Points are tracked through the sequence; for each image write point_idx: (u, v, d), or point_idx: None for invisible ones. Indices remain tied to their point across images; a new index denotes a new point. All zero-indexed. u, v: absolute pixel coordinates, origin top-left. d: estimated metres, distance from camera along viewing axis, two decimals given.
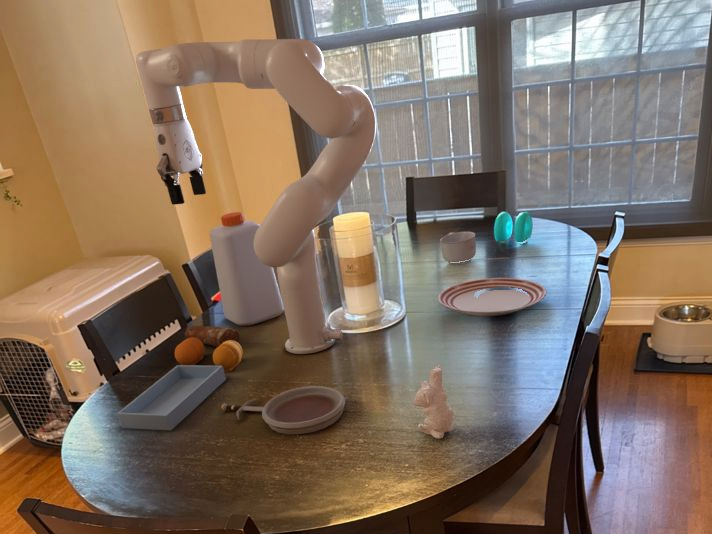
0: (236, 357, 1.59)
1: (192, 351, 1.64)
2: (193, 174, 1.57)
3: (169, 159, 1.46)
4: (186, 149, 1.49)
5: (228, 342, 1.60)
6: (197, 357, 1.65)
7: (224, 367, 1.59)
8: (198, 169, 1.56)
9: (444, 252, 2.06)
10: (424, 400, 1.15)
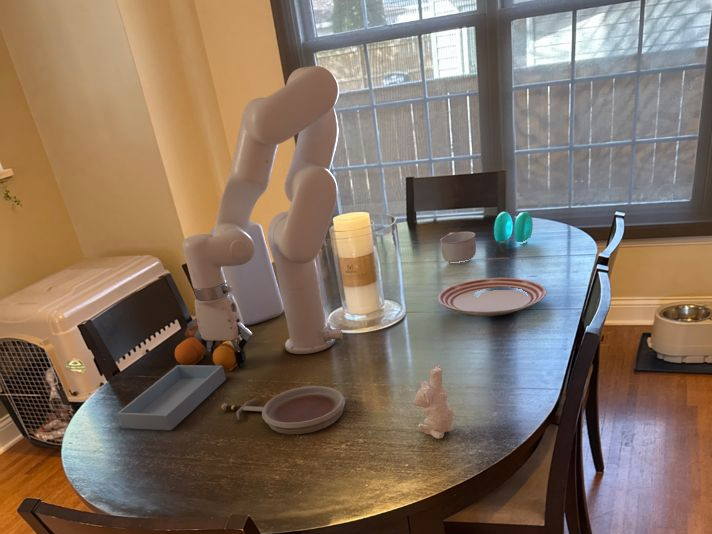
0: None
1: (192, 351, 1.64)
2: (213, 346, 1.61)
3: None
4: None
5: (228, 342, 1.60)
6: (197, 357, 1.65)
7: (224, 367, 1.59)
8: None
9: (444, 252, 2.06)
10: (424, 400, 1.15)
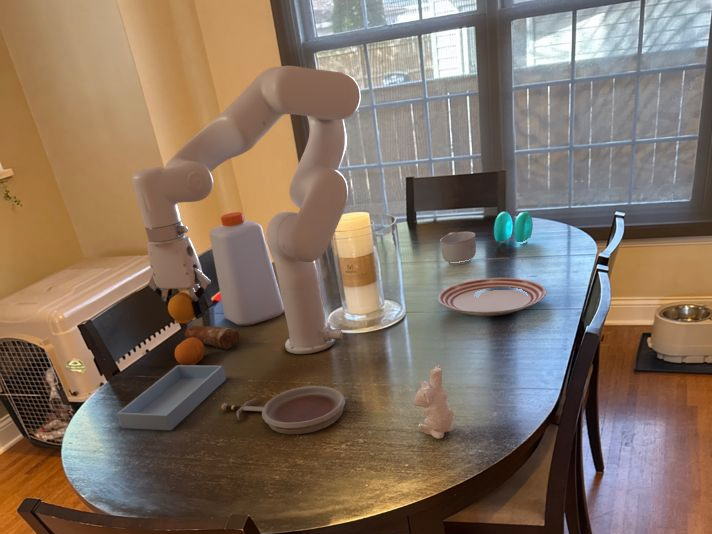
0: None
1: (192, 351, 1.64)
2: (169, 296, 1.47)
3: None
4: None
5: (185, 291, 1.46)
6: (197, 357, 1.65)
7: (180, 318, 1.45)
8: None
9: (444, 252, 2.06)
10: (424, 400, 1.15)
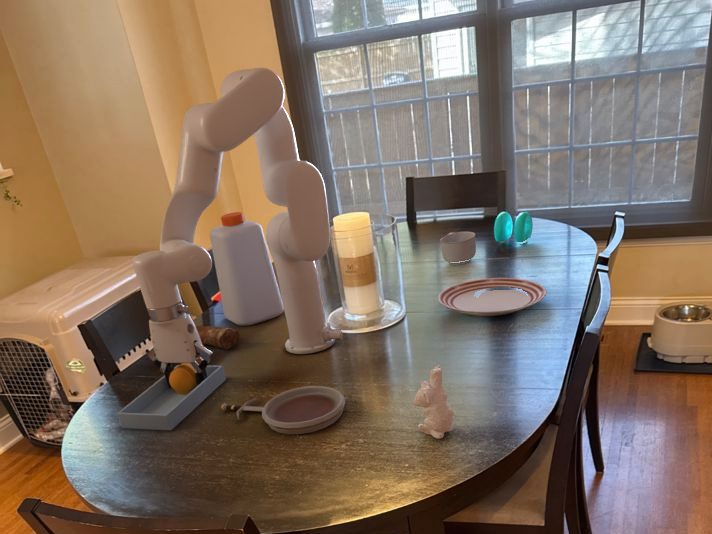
0: (194, 380, 1.50)
1: None
2: (168, 368, 1.52)
3: None
4: None
5: (186, 364, 1.51)
6: None
7: (181, 390, 1.49)
8: None
9: (444, 252, 2.06)
10: (424, 400, 1.15)
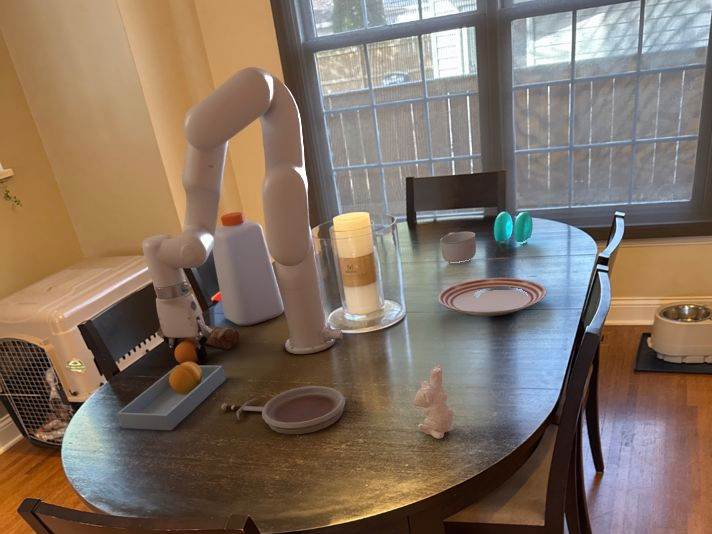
0: (194, 380, 1.50)
1: (192, 351, 1.64)
2: (175, 343, 1.66)
3: None
4: None
5: (186, 364, 1.51)
6: (197, 357, 1.65)
7: (181, 390, 1.49)
8: (177, 337, 1.67)
9: (444, 252, 2.06)
10: (424, 400, 1.15)
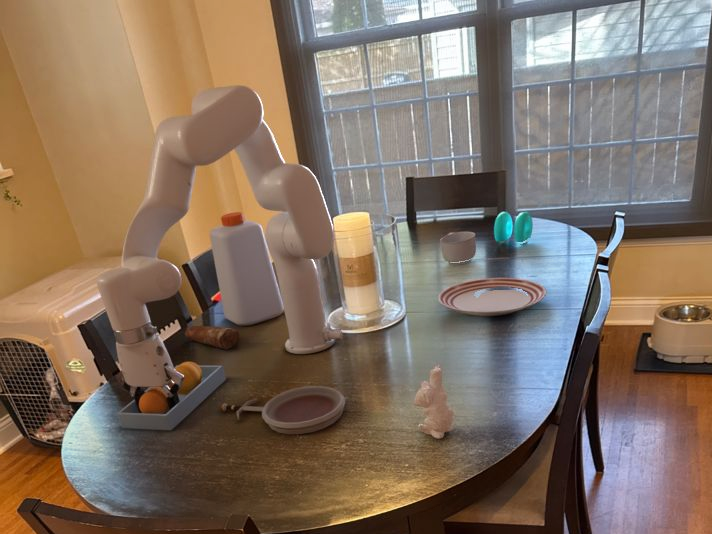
0: (194, 380, 1.50)
1: (160, 402, 1.39)
2: (138, 391, 1.42)
3: None
4: None
5: (186, 364, 1.51)
6: (166, 408, 1.41)
7: (181, 390, 1.49)
8: None
9: (444, 252, 2.06)
10: (424, 400, 1.15)
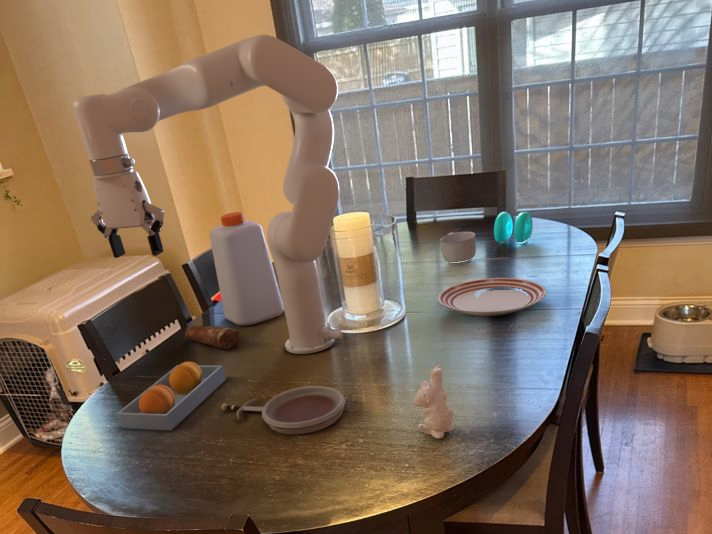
0: (194, 380, 1.50)
1: (160, 402, 1.39)
2: (112, 234, 1.40)
3: None
4: None
5: (186, 364, 1.51)
6: (166, 408, 1.41)
7: (181, 390, 1.49)
8: None
9: (444, 252, 2.06)
10: (424, 400, 1.15)
